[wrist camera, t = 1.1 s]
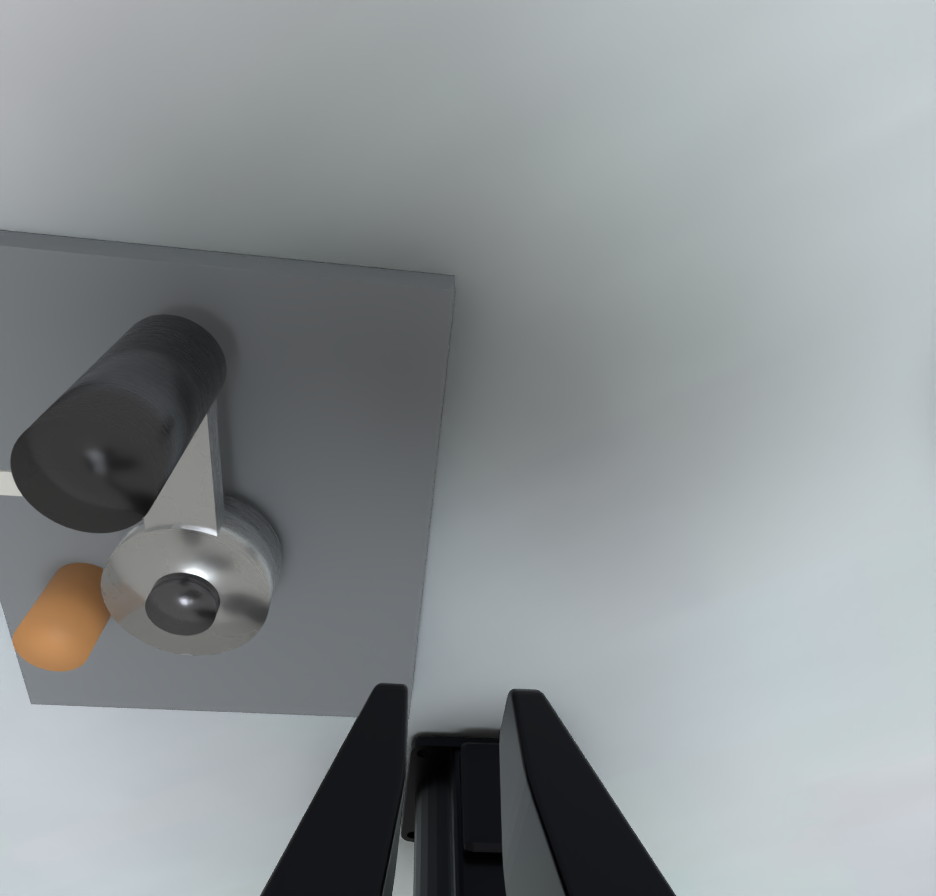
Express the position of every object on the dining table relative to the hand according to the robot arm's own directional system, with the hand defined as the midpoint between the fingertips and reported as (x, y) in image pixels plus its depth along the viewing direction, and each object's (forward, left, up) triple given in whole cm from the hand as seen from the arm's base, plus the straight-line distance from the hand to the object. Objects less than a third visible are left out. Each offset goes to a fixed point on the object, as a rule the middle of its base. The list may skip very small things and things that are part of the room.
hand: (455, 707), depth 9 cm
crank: (-4, +6, -11) cm, 13 cm away
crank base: (-6, +6, -12) cm, 15 cm away
